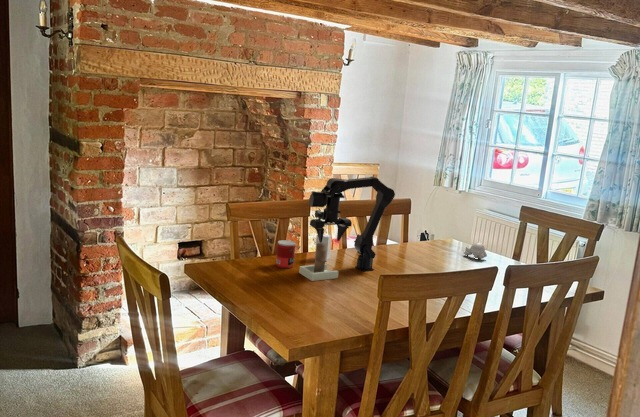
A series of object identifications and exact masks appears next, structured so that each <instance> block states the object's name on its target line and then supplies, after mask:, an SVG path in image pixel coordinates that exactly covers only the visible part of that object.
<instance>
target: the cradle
mask: <svg viewBox="0 0 640 417" xmlns="http://www.w3.org/2000/svg"><path fill="white" fill-rule="evenodd" d="M314 265H315V264H310V265H301V266H299V272H298V273H299V274H301V275H302V276H304V277H305V278H306V279H308V280H309V281H311V282H315V281H323V280H333V279H338V278H339V272H340V271H339V270H337V269H336V270H328V269H327V267H328V266H327V265H328V264H326V263H325V268H324V272H316V273H314Z"/></svg>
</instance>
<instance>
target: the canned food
mask: <svg viewBox="0 0 640 417" xmlns="http://www.w3.org/2000/svg"><path fill="white" fill-rule="evenodd" d="M276 246H277V248H276V260H275V261H276V262H275V264H276V267H278V268H281V269H292V268H293V267H294V265H295V256H296V255H295V252H296V242H294V241H293V240H286V239H283V240H282V239H281V240H280V239H279V240H278V241H277V244H276Z"/></svg>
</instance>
